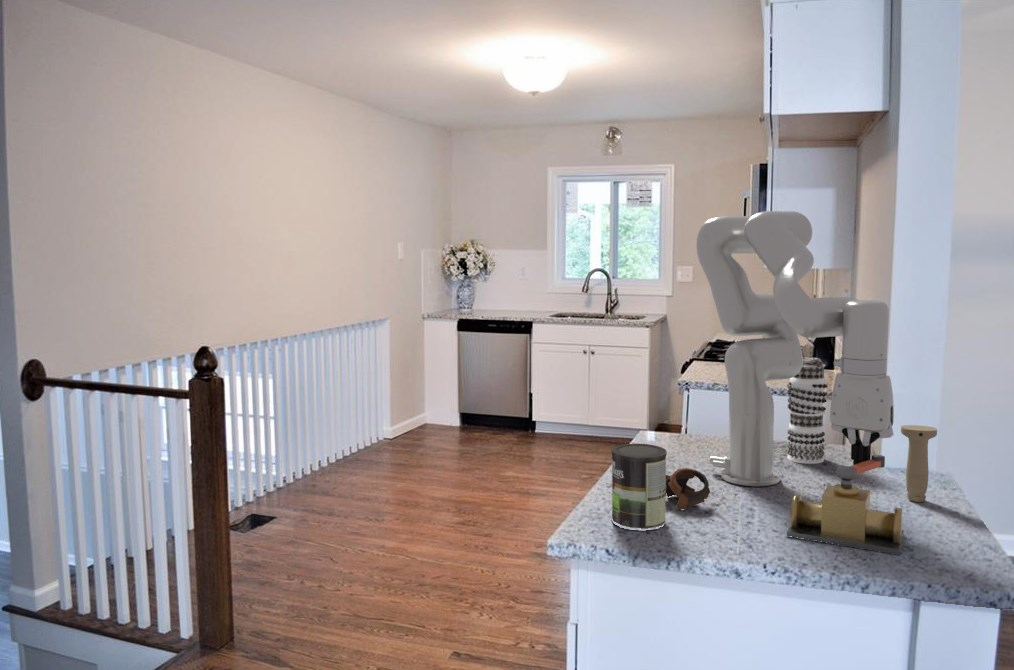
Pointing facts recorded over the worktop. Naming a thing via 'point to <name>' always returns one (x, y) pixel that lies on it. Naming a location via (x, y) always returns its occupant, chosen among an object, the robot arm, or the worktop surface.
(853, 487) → the valve
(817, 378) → the white patterned cylinder
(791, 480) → the worktop surface
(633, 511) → the coffee can
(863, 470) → the lever
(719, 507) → the worktop surface
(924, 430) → the handle
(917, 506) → the worktop surface
